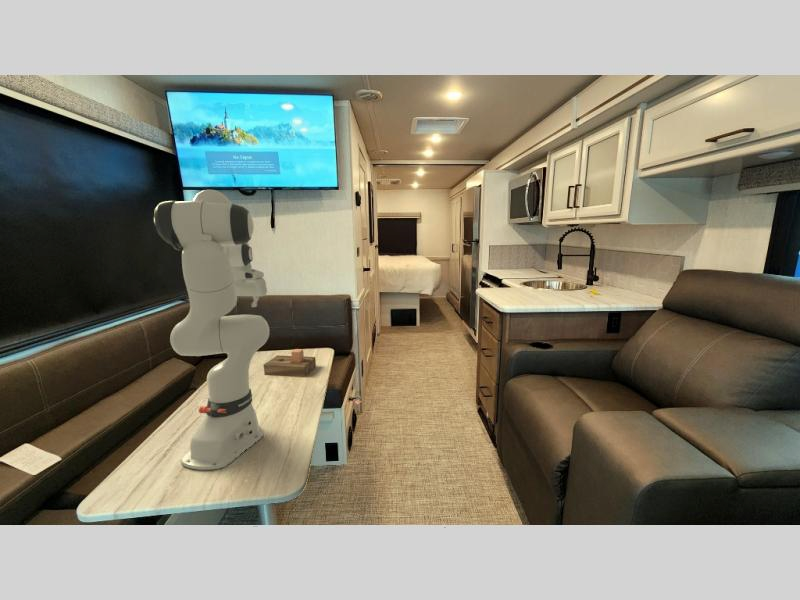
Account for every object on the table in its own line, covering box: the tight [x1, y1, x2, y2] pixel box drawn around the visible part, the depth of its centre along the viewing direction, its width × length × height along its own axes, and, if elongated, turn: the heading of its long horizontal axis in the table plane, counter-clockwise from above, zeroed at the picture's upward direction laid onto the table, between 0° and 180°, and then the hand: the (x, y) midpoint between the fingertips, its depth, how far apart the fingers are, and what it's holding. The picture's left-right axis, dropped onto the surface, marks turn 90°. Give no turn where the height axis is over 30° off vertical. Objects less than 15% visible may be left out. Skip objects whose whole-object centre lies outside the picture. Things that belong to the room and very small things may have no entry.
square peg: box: [290, 348, 305, 364], centre depth 147 cm, size 4×4×10 cm
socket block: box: [263, 354, 317, 378], centre depth 148 cm, size 12×20×5 cm, turn 82°
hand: (244, 306), depth 131 cm, fingers open, 8 cm apart
